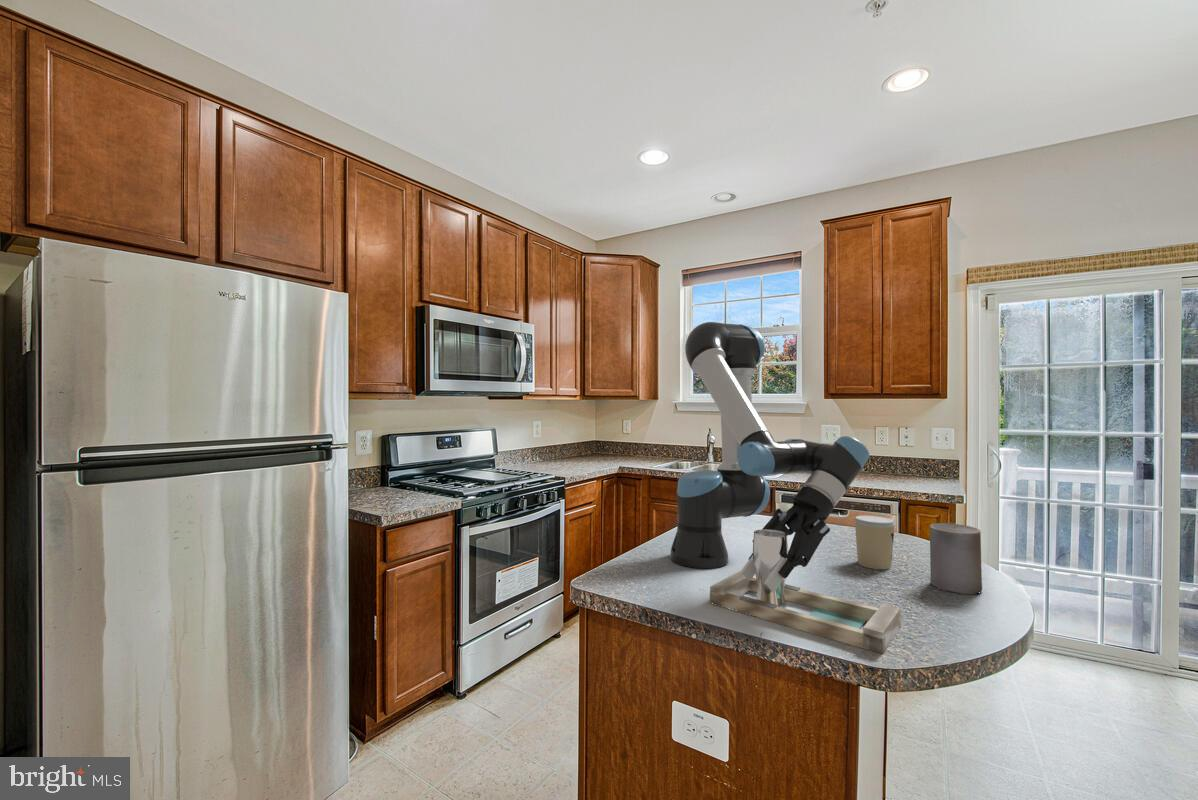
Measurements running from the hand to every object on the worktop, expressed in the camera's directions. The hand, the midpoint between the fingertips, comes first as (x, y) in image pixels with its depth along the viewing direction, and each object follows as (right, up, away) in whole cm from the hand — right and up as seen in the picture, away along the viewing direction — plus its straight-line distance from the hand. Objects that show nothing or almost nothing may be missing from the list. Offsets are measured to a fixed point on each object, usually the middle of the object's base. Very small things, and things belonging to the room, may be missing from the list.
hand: (756, 581), depth 102 cm
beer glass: (+3, -6, +1) cm, 7 cm away
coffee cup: (+40, -7, +30) cm, 51 cm away
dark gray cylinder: (+50, -6, +14) cm, 52 cm away
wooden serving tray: (+8, -6, -3) cm, 10 cm away
